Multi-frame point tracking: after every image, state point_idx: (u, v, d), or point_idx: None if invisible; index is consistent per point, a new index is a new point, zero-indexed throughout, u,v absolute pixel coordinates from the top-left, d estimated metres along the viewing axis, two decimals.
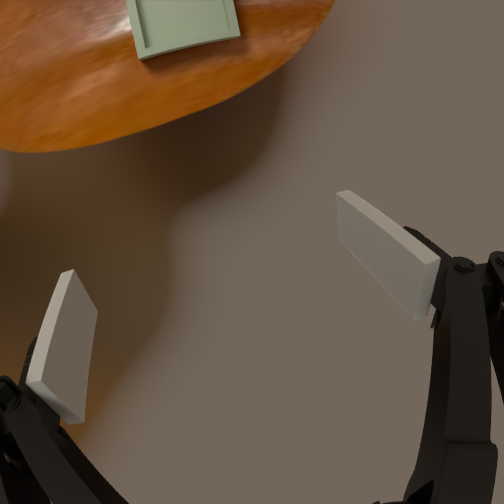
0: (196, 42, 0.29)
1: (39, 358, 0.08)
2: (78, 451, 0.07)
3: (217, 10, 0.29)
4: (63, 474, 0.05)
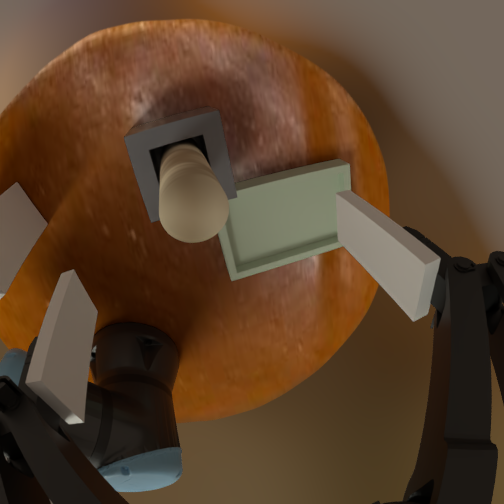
0: None
1: (39, 358, 0.08)
2: (78, 451, 0.07)
3: (317, 179, 0.39)
4: (63, 474, 0.05)
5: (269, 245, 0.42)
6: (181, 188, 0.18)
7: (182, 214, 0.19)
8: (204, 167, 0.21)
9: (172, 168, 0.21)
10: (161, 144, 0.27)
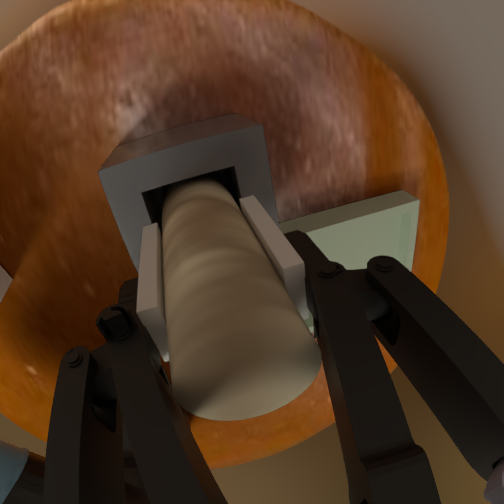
0: (413, 245, 0.29)
1: (148, 290, 0.11)
2: (174, 397, 0.09)
3: None
4: (156, 421, 0.06)
5: None
6: (223, 351, 0.07)
7: (224, 390, 0.08)
8: (259, 263, 0.10)
9: (190, 263, 0.10)
10: (162, 183, 0.16)
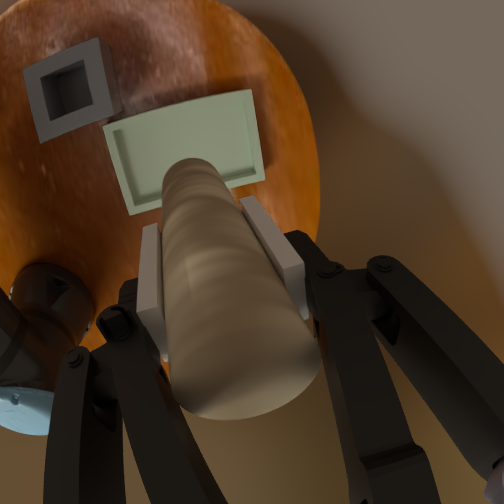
0: (256, 129, 0.36)
1: (148, 290, 0.11)
2: None
3: (217, 108, 0.35)
4: (156, 421, 0.06)
5: None
6: (222, 350, 0.07)
7: (223, 389, 0.08)
8: (258, 262, 0.10)
9: (189, 262, 0.10)
10: (49, 71, 0.23)
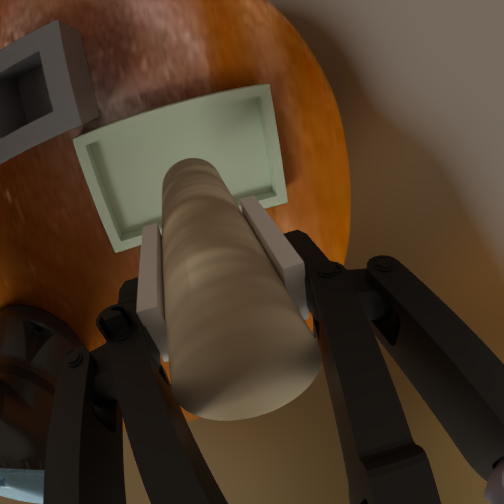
0: (276, 137, 0.28)
1: (148, 290, 0.11)
2: None
3: (224, 109, 0.27)
4: (156, 421, 0.06)
5: None
6: (223, 350, 0.07)
7: (224, 389, 0.08)
8: (259, 262, 0.10)
9: (189, 262, 0.10)
10: None
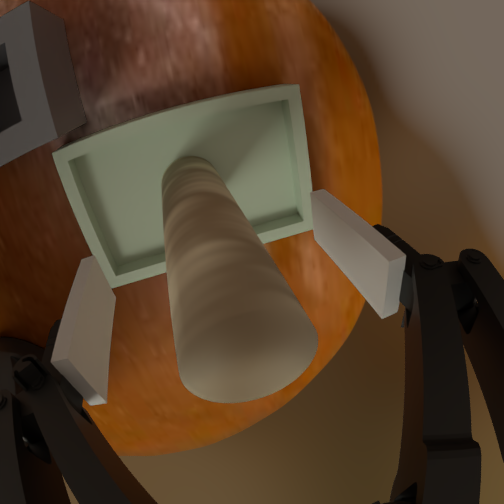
0: (306, 151, 0.23)
1: (64, 337, 0.09)
2: (99, 435, 0.08)
3: (242, 115, 0.21)
4: (83, 458, 0.05)
5: None
6: (227, 332, 0.08)
7: (227, 371, 0.09)
8: (258, 253, 0.11)
9: (193, 253, 0.11)
10: None
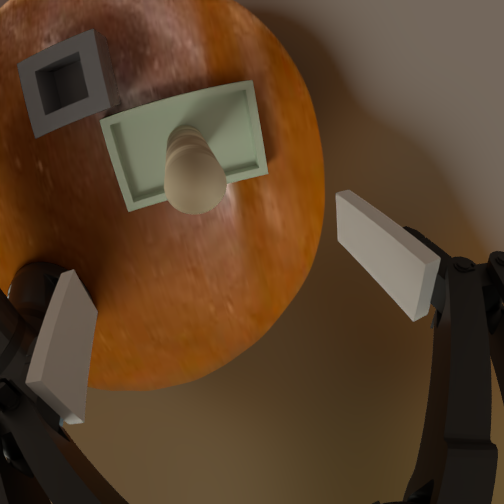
0: (258, 121, 0.35)
1: (39, 358, 0.08)
2: (78, 451, 0.07)
3: (218, 100, 0.34)
4: (63, 474, 0.05)
5: None
6: (184, 164, 0.20)
7: (185, 188, 0.21)
8: (205, 149, 0.23)
9: (177, 149, 0.23)
10: (44, 65, 0.21)
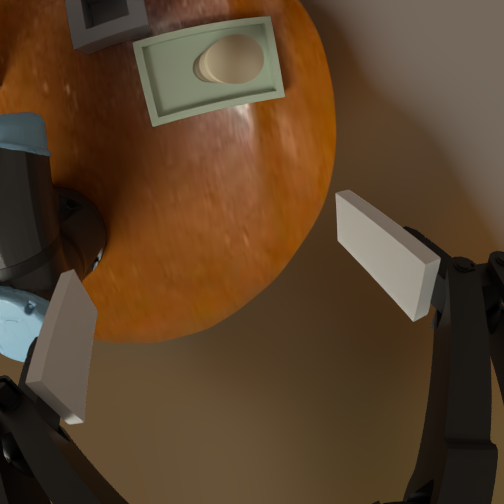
0: (275, 50, 0.35)
1: (39, 358, 0.08)
2: (78, 451, 0.07)
3: (239, 32, 0.34)
4: (63, 474, 0.05)
5: (193, 94, 0.37)
6: (229, 41, 0.21)
7: (228, 60, 0.22)
8: None
9: None
10: None
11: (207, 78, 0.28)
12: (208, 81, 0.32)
